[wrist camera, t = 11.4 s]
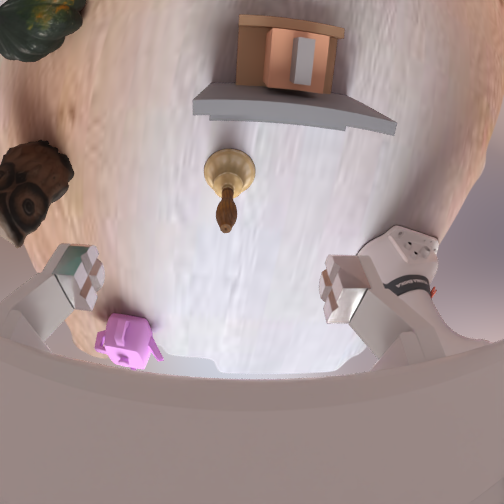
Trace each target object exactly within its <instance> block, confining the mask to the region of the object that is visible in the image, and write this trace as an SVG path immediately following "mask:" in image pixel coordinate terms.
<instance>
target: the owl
mask: <svg viewBox="0 0 504 504" xmlns="http://www.w3.org/2000/svg"><path fill="white" fill-rule="evenodd" d="M73 176H74V171H73V169H72V165H71V164H70V161H69V158H68V157H67V156H66V155H64V154H61V153H59V152H58V148H56V147H52V146H51V145H49V142H48V141H42V140H40V141H38V142H29V143H27V144H21V145H18V146H16V147H13V148H9V150H8V151H7V153H6V155H3V159H2V162H1V165H0V236H1V237H2V238H3V239H6V240H7V241H9V242H10V243H12V244H13V245H15V247H16V248H18V247H21V246H22V245H23V243H24V239H25V238H26V236H27V235H28V234H30V233H32V232H34V231H35V230H37V228H38V227H39V226H40V224H41V222H42V221H43V220H45V218H46V214H47V211H48V208H49V206H50V204H51V203H53V202H55V201H57V200H58V199H60V198H61V197H62V196H63V195H64V194H65V193H66V191H67V190H68V187H69V185H68V182H69V181H70V180H71V179H72V178H73Z"/></svg>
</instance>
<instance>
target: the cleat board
mask: <svg viewBox="0 0 504 504" xmlns="http://www.w3.org/2000/svg"><path fill="white" fill-rule="evenodd" d="M272 28H279V29H288V30H295V31H302V32H309V33H315V34H320V35H325V36H330V39H329V48H328V57H327V65H326V73H325V81H324V89H323V94H321V93H314V92H307V91H299V90H290V89H280V88H269V87H267V86H266V84H265V83H264V82H263V73H264V60H265V47H266V34H267V33H268V32H269V31H270V30H271V29H272ZM344 31H345V29H344V28H340V27H336V26H331V25H327V24H322V23H316V22H311V21H305V20H298V19H291V18H283V17H273V16H261V15H241V14H239V32H238V49H237V67H236V83H211V84H210V85H209V86H208V87H206V88H205V89H204V90H203V91H202V92H201V93H200V94H199V95H198V96H196V97H195V98H194V99H193V115H210V121H253V122H270V123H283V124H294V125H303V126H312V127H320V128H327V129H334V130H341V131H345V129H346V126H349V127H354V128H360V129H365V130H370V131H374V132H379V133H384V134H388V135H392V136H394V134H395V130H396V126H397V123H396V122H395V121H393V120H391V119H390V118H388V117H386V116H385V115H383V114H381V113H379V112H377V111H376V110H374V109H372V108H370V107H368V106H366V105H365V104H363V103H361V102H359V101H357V100H355V99H353V98H351V97H349V96H347V95H342V94H336V93H331V88H332V80H333V73H334V65H335V57H336V48H337V39H344Z"/></svg>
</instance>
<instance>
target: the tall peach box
mask: <svg viewBox="0 0 504 504" xmlns="http://www.w3.org/2000/svg"><path fill="white" fill-rule="evenodd" d="M329 39H330V36H325V35H320V34H315V33H309V32H302V31H295V30H288V29H279V28H272V29H271V30H270V31H269V32H268V33H267V34H266V47H265V60H264V73H263V82H264V83H265V84H266V86H267V87H269V88H280V89H290V90H299V91H307V92H314V93H321V94H323V89H324V81H325V73H326V65H327V57H328V48H329Z"/></svg>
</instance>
